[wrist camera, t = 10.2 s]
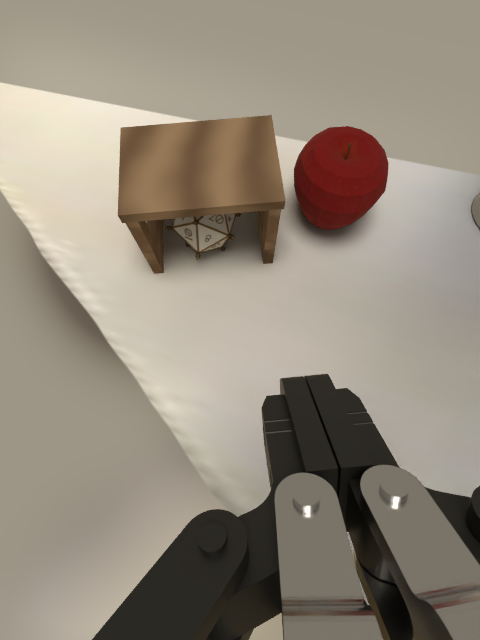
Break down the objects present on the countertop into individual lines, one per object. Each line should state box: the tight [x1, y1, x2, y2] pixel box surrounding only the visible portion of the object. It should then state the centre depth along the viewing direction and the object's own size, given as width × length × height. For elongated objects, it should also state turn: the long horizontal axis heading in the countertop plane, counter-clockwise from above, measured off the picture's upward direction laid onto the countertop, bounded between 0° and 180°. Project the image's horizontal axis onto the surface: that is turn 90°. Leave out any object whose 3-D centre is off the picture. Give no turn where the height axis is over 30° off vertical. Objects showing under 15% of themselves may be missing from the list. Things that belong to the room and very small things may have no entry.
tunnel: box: [118, 115, 285, 273], centre depth 39 cm, size 16×11×12 cm
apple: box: [294, 126, 388, 230], centre depth 40 cm, size 11×11×12 cm
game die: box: [165, 213, 241, 260], centre depth 41 cm, size 9×8×10 cm
